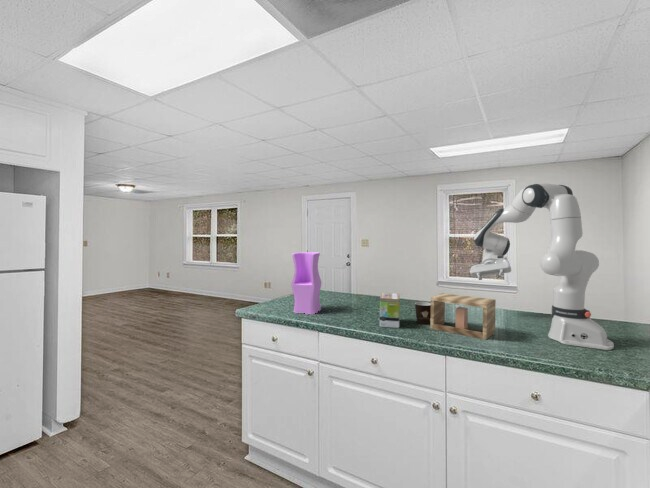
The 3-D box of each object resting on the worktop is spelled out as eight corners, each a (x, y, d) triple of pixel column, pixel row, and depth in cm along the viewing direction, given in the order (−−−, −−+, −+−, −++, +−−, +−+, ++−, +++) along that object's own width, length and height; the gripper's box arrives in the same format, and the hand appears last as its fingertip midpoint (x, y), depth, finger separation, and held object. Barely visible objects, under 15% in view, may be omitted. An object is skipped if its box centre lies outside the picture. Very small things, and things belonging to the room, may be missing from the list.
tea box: (399, 328, 163) (400, 298, 162) (379, 327, 165) (379, 297, 164) (399, 320, 178) (399, 292, 177) (380, 319, 180) (380, 292, 179)
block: (467, 330, 159) (467, 307, 158) (464, 333, 155) (464, 309, 154) (459, 329, 161) (459, 306, 161) (455, 331, 158) (455, 308, 157)
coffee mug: (413, 323, 171) (413, 304, 170) (416, 319, 178) (416, 301, 178) (436, 326, 165) (436, 306, 165) (439, 322, 173) (439, 303, 172)
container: (291, 313, 193) (291, 253, 192) (300, 308, 207) (299, 252, 205) (314, 314, 189) (313, 254, 188) (321, 309, 203) (321, 252, 201)
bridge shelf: (495, 332, 156) (495, 299, 155) (486, 339, 145) (486, 304, 145) (441, 322, 173) (441, 293, 172) (430, 328, 162) (430, 297, 161)
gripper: (469, 261, 191) (467, 275, 180) (509, 255, 179) (509, 269, 169) (472, 270, 193) (470, 285, 182) (512, 264, 181) (512, 279, 171)
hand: (489, 277), depth 175 cm, fingers open, 8 cm apart
